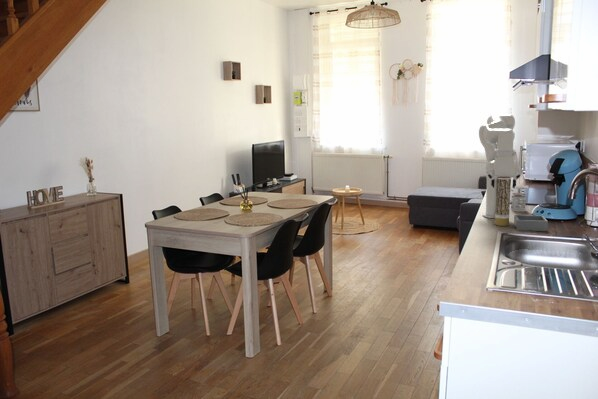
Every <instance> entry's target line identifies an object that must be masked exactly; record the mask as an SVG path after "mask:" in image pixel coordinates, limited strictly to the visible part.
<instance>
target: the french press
mask: <svg viewBox="0 0 598 399" xmlns="http://www.w3.org/2000/svg"><path fill="white" fill-rule="evenodd" d="M520 171H523V169H522V168H521V167H520ZM520 178H521V177H519V178H518V179H519V182H518V184H516V186H515V188H513V185H511V188H512V189H511V190H510V192H512V195H511V200H510V211H513V212H527V211H528V210H527V208H526V200H527V196H526V193H523V192H513V189H516V190H521V189H522V190H523V189H525V190H526V189H527V186H525V185H523V184H520V182H521V179H520Z"/></svg>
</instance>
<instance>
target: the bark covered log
mask: <svg viewBox="0 0 598 399" xmlns="http://www.w3.org/2000/svg"><path fill="white" fill-rule="evenodd" d="M511 183H512V178H511V177H497V183H496V207H495V218H494V225H496V226H499V227H507V226H509V224H510V211H511V210H510V208H511V188H512V184H511Z"/></svg>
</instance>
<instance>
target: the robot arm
mask: <svg viewBox="0 0 598 399" xmlns="http://www.w3.org/2000/svg"><path fill="white" fill-rule="evenodd" d="M515 126H516V119H515V117H514V115H513V114H510V113H506V114H505V113H504V114H503V113H498V114H492V115H490V116H489V117H488V118H487V119H486V124H483V125H481V126H480V127H479V128H478V137H479V141H480V143H481V145H482V147H483V148H484V153H485V158H486V159H485V160H486V162H487V163H486V165H485V175H486V176H485V177H486V191H485V192H486V193H485V195H486V196H485V200H486V201H485V212H484V213H482V216H483V217H484V218H487V219H495V207H496V183H497V177H511V179H512V186H513V188H512V189H516V188H515V186H516V185H517V180H518V179H519V178H521V176H522V174H523V170H520V168H521V167H520V162H519V158H518V155H517V152H516V150H515V149H514V140H515V138H516V137H515V134H516V133H515V131H514V130H515V129H514V128H515Z"/></svg>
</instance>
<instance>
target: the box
mask: <svg viewBox="0 0 598 399" xmlns="http://www.w3.org/2000/svg"><path fill="white" fill-rule="evenodd" d="M513 216H514V217H513V218H514V219H513V226H514V227H515V228H516V231H529V230H533V232H534V231H535V232H548V225H549V222H548V220H547V219H546V217H545V216H544V215H534V214H533V215H532V214H531V215H528V214H514V215H513Z"/></svg>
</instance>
